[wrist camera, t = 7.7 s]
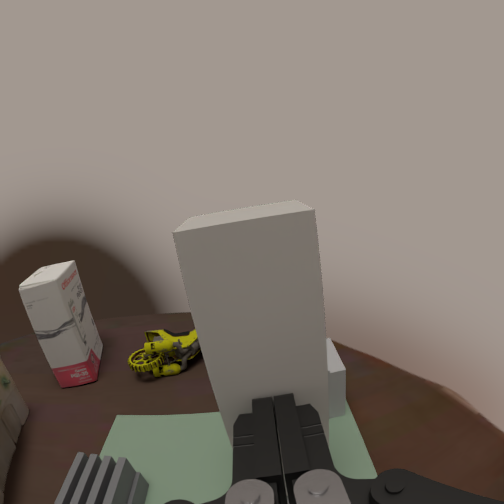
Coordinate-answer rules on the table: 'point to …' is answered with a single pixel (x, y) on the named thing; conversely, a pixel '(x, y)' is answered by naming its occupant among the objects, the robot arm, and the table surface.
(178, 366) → the toy motorcycle
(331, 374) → the base
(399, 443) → the table surface
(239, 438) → the robot arm
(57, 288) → the ink box
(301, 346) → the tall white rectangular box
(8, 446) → the comb
